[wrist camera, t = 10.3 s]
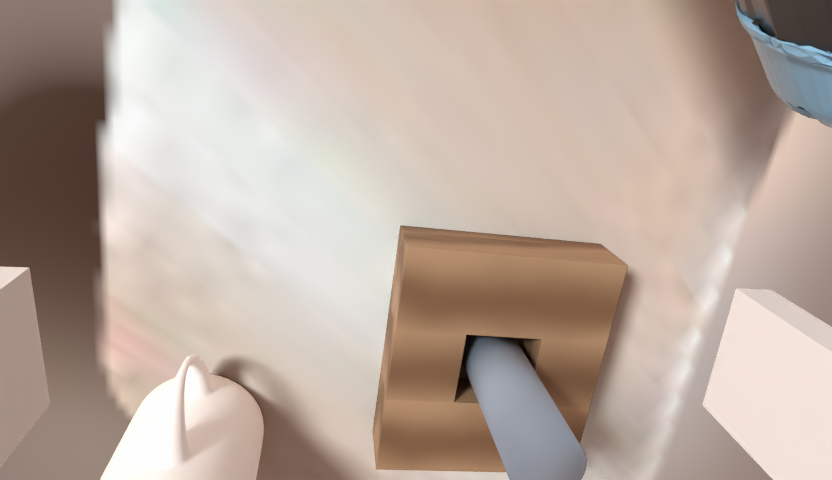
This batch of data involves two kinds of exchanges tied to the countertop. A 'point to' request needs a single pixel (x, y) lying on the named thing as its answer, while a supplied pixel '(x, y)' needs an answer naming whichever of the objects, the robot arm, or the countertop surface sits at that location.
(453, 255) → the board
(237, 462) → the mug
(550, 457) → the dowel
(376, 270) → the countertop surface
